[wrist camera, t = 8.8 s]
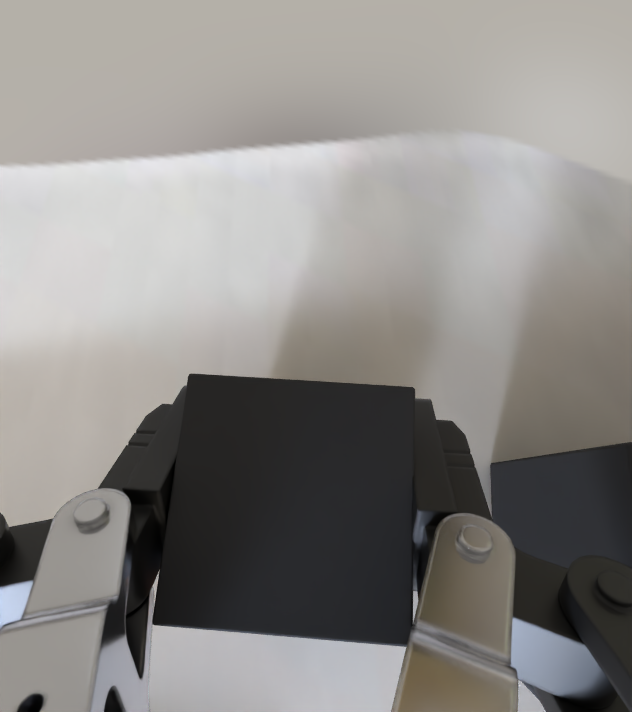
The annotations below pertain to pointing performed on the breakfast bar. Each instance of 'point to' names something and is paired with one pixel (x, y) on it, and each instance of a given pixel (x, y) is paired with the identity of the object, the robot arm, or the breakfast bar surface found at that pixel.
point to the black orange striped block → (291, 511)
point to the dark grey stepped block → (567, 504)
